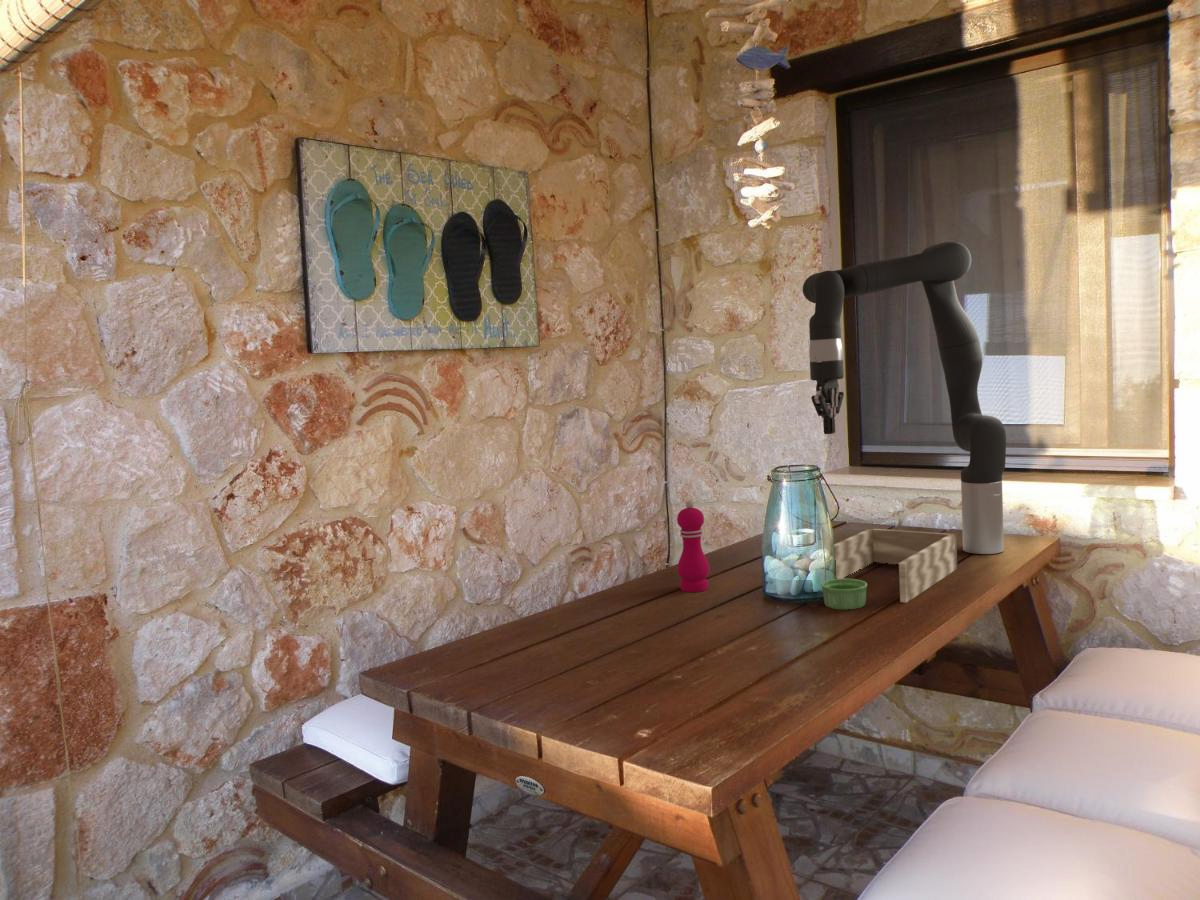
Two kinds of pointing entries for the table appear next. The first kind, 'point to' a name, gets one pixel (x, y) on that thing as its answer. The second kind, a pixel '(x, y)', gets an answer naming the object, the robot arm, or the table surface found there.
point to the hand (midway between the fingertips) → (829, 433)
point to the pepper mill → (692, 551)
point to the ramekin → (844, 593)
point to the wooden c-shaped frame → (900, 556)
